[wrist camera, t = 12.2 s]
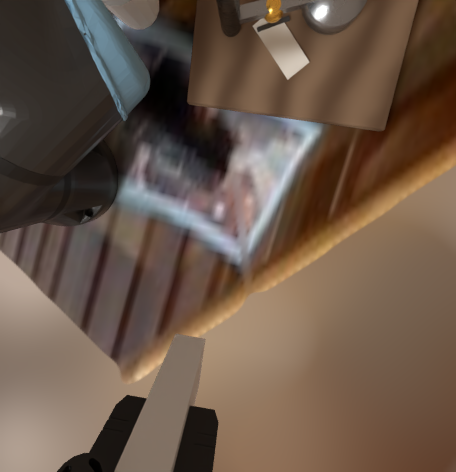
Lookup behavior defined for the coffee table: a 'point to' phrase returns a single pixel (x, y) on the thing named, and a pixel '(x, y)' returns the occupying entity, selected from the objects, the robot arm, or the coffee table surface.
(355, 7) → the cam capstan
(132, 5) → the shot glass
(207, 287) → the coffee table surface
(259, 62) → the crank stand
